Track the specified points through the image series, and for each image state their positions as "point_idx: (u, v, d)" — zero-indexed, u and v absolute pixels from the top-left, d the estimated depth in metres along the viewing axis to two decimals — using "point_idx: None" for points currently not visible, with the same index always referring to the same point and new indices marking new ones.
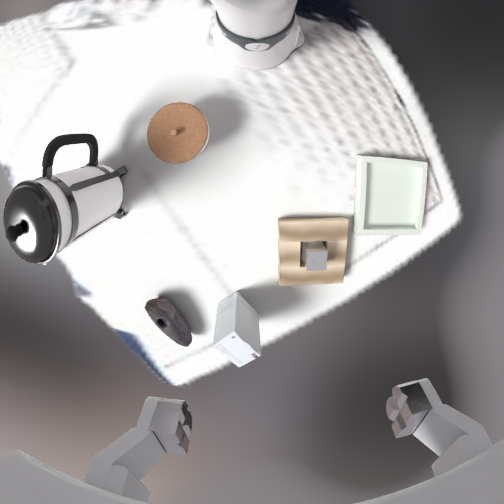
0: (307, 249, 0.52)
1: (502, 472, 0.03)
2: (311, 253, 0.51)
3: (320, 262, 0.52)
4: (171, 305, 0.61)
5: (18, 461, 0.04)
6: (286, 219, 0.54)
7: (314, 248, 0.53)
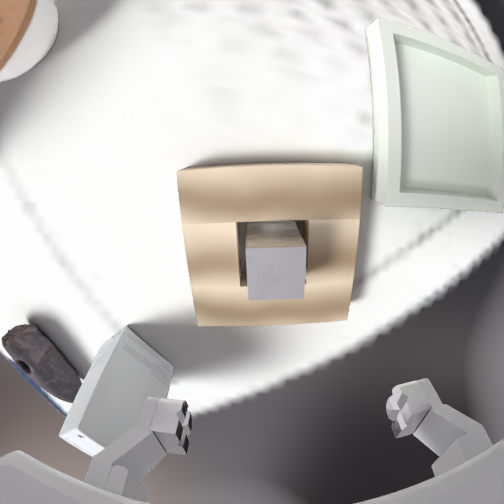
0: (249, 241, 0.19)
1: (502, 472, 0.03)
2: (257, 252, 0.18)
3: (286, 278, 0.19)
4: (39, 339, 0.28)
5: (18, 461, 0.04)
6: (200, 167, 0.21)
7: (271, 240, 0.19)
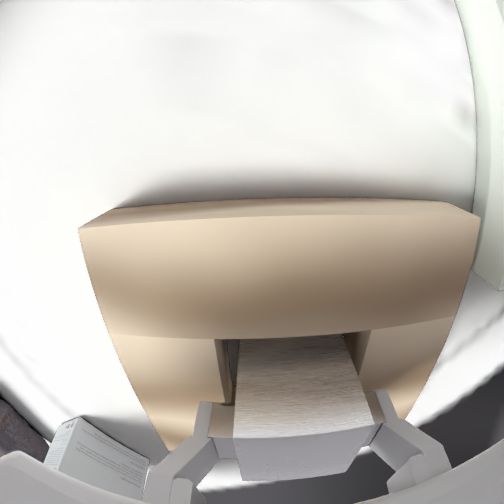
0: (243, 404, 0.07)
1: (502, 472, 0.03)
2: (262, 442, 0.06)
3: (319, 461, 0.07)
4: None
5: (18, 461, 0.04)
6: (135, 212, 0.09)
7: (293, 398, 0.07)
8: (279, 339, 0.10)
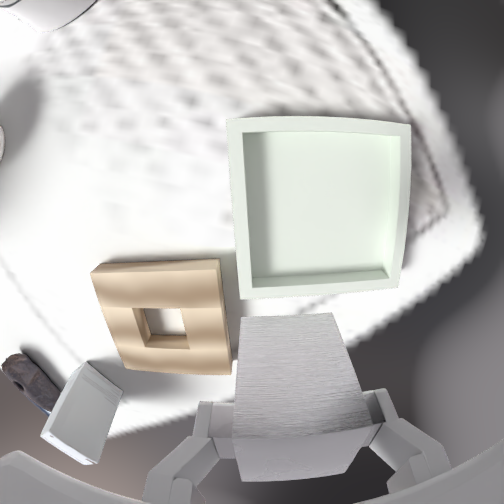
0: (242, 405, 0.07)
1: (502, 472, 0.03)
2: (261, 443, 0.06)
3: (318, 462, 0.07)
4: (29, 365, 0.34)
5: (18, 461, 0.04)
6: (107, 266, 0.27)
7: (292, 399, 0.07)
8: (278, 340, 0.10)
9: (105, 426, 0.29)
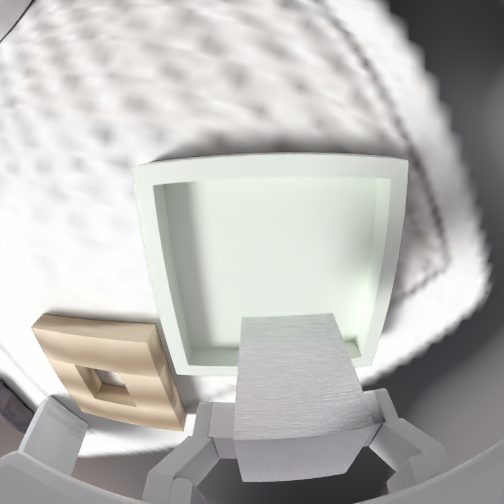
0: (243, 405, 0.07)
1: (502, 472, 0.03)
2: (262, 443, 0.06)
3: (319, 462, 0.07)
4: (2, 391, 0.28)
5: (18, 461, 0.04)
6: (47, 320, 0.21)
7: (293, 400, 0.07)
8: (279, 341, 0.10)
9: (71, 460, 0.24)
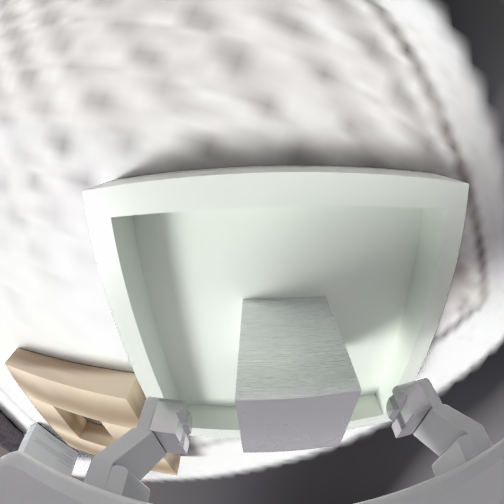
0: (244, 371, 0.09)
1: (502, 472, 0.03)
2: (261, 405, 0.08)
3: (313, 430, 0.08)
4: None
5: (18, 461, 0.04)
6: (21, 356, 0.16)
7: (289, 367, 0.09)
8: (276, 318, 0.12)
9: None
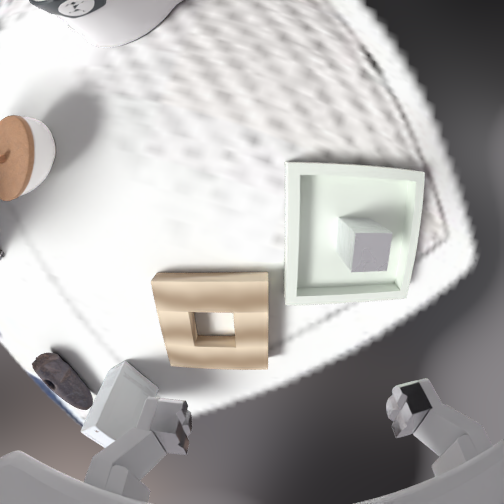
0: (353, 229, 0.25)
1: (502, 472, 0.03)
2: (363, 236, 0.24)
3: (378, 255, 0.25)
4: (61, 364, 0.39)
5: (18, 461, 0.04)
6: (166, 275, 0.33)
7: (367, 228, 0.25)
8: (355, 221, 0.28)
9: None
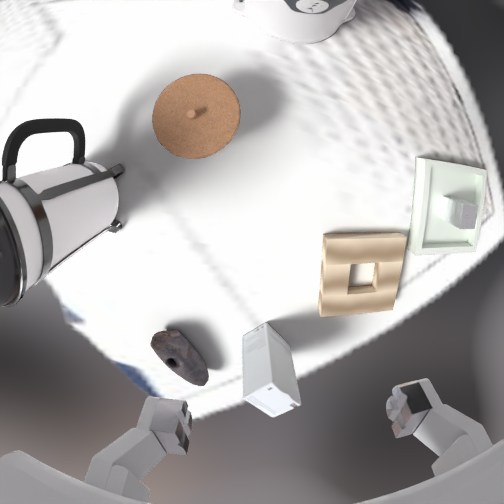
0: (459, 202, 0.34)
1: (502, 472, 0.03)
2: (466, 206, 0.33)
3: (471, 219, 0.33)
4: (183, 340, 0.48)
5: (18, 461, 0.04)
6: (334, 235, 0.41)
7: (464, 203, 0.34)
8: (453, 198, 0.37)
9: (294, 373, 0.43)
